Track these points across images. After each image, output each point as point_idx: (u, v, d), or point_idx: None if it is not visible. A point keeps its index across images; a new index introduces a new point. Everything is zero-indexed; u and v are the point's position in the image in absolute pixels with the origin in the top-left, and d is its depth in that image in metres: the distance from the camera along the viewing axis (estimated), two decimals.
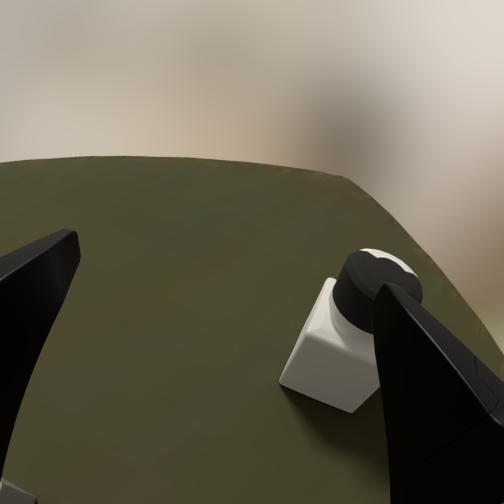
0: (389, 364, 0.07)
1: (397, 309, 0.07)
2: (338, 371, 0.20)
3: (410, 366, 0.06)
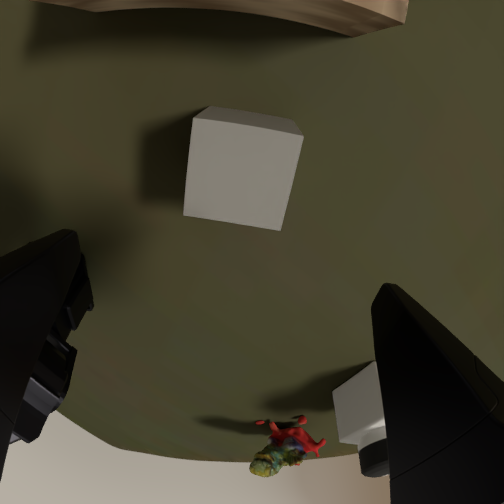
0: (389, 364, 0.07)
1: (397, 309, 0.07)
2: (358, 411, 0.27)
3: (410, 366, 0.06)
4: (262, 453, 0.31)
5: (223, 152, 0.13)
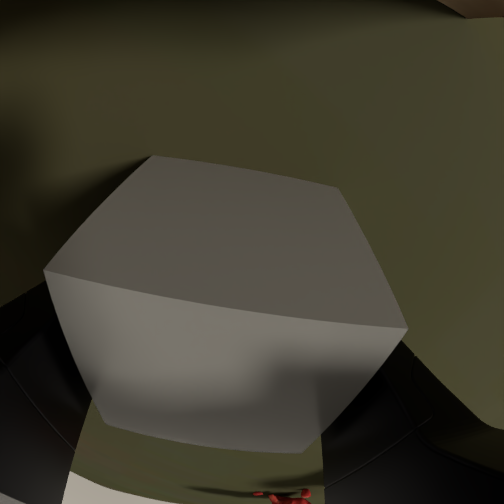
0: None
1: None
2: None
3: None
4: None
5: (154, 362, 0.04)
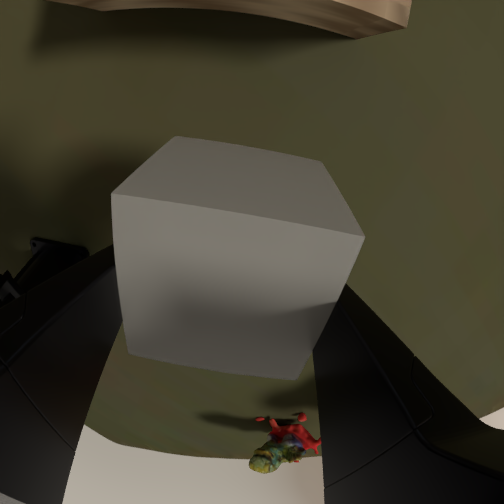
0: (323, 361, 0.07)
1: None
2: None
3: (340, 364, 0.06)
4: (262, 449, 0.31)
5: (184, 267, 0.06)
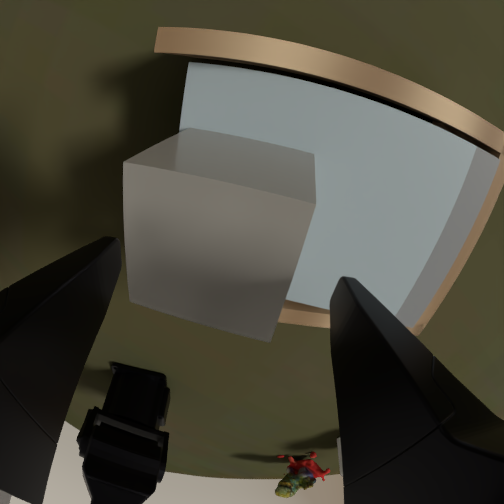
0: (343, 362, 0.07)
1: (351, 304, 0.07)
2: None
3: (361, 365, 0.06)
4: (284, 481, 0.39)
5: (173, 222, 0.08)
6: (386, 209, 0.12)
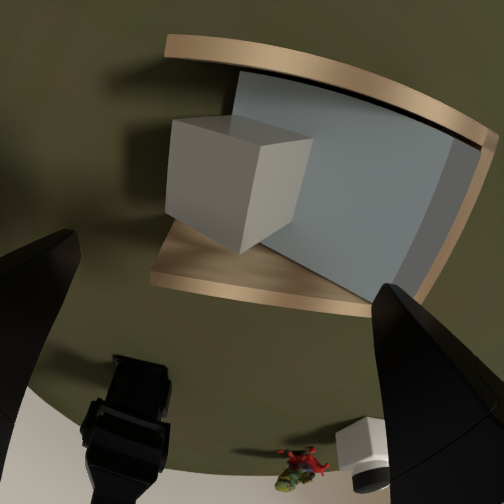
0: (389, 364, 0.07)
1: (397, 309, 0.07)
2: (353, 450, 0.37)
3: (410, 366, 0.06)
4: (284, 475, 0.40)
5: (192, 156, 0.13)
6: (370, 188, 0.14)
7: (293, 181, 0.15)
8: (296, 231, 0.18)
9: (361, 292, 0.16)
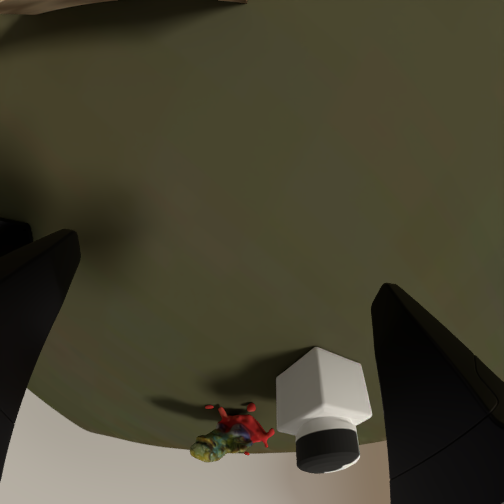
0: (389, 364, 0.07)
1: (397, 309, 0.07)
2: (296, 399, 0.27)
3: (410, 366, 0.06)
4: (203, 436, 0.31)
5: None
6: None
7: None
8: None
9: None
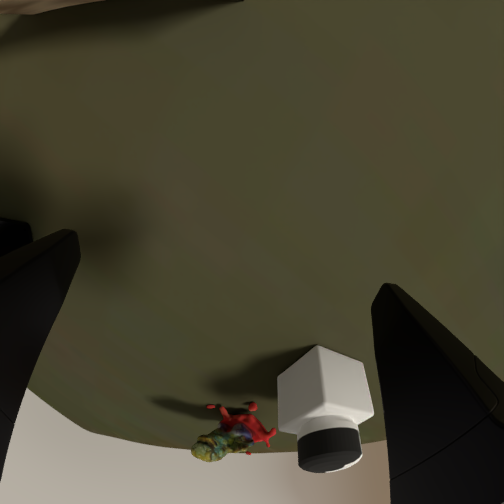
0: (389, 364, 0.07)
1: (397, 309, 0.07)
2: (297, 398, 0.27)
3: (410, 366, 0.06)
4: (204, 436, 0.30)
5: None
6: None
7: None
8: None
9: None
